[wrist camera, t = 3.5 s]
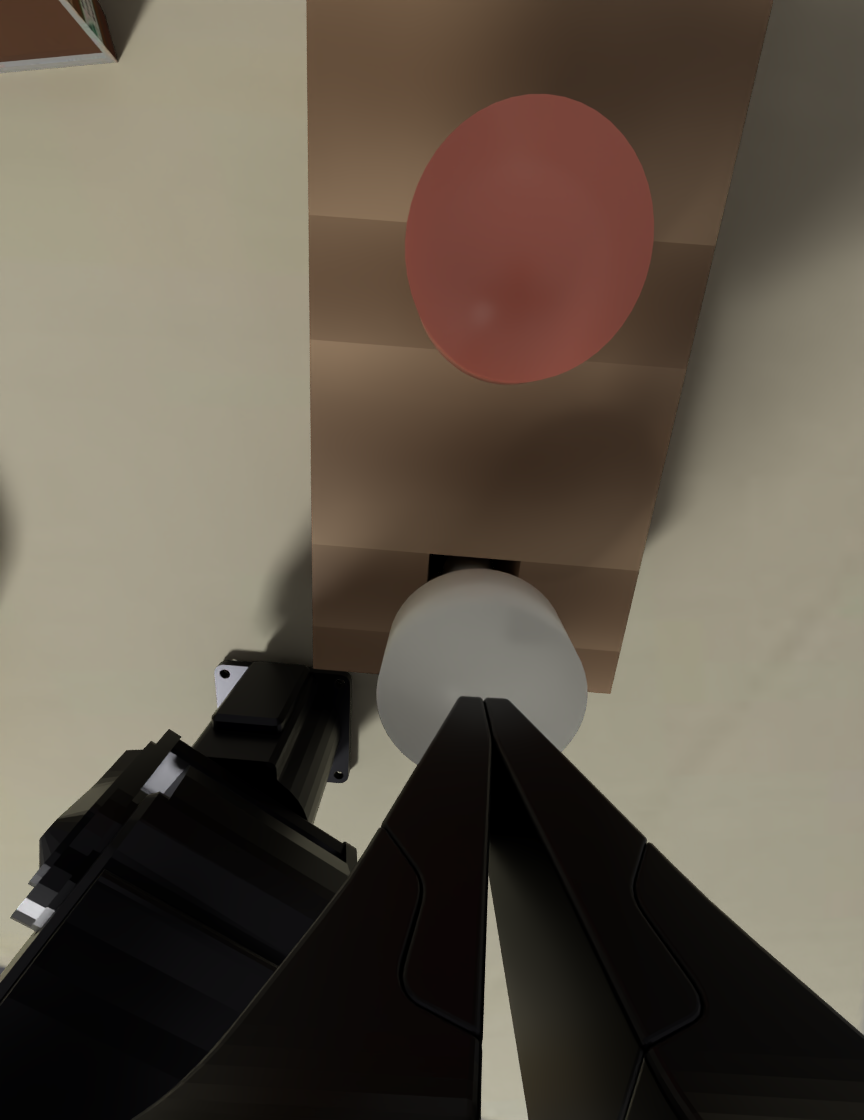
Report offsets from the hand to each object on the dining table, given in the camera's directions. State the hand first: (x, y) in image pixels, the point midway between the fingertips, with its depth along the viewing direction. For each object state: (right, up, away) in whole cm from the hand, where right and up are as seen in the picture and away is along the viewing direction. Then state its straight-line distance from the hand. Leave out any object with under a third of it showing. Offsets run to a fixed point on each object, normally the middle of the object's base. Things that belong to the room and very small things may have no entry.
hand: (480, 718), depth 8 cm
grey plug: (0, +2, +9) cm, 9 cm away
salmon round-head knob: (+1, +11, +8) cm, 13 cm away
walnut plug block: (+1, +11, +9) cm, 15 cm away
